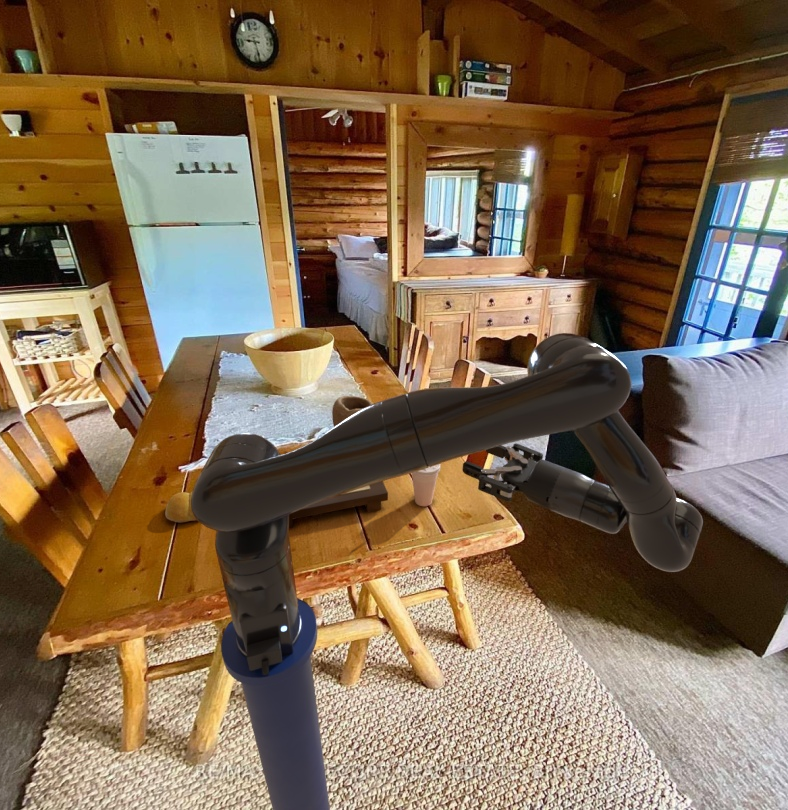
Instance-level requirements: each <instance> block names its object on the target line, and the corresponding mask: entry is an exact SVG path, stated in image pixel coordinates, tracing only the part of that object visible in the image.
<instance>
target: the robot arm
mask: <svg viewBox="0 0 788 810" xmlns="http://www.w3.org/2000/svg"><path fill="white" fill-rule="evenodd" d="M526 368H527V369H526V370H527V372H526V373H527V376H524V377H522V378H519V379H516V380H512V381H508V382H505V383H501V384H497V385H488V386H472V387H471V386H469V387H468V386H467V387H466V386H465V387H463V386H462V387H461V386H459V387H457V386H456V387H445V386H444V387H428V388H422V389H416V390H413V391H412V390H411V391H408V392H406V393H402V394H399V395H396V396H393V397H389V398H387V399H384V400H380V401H377V402H375V403H373V404H372V405H369V406H367V407H365V408H363V409H361V410H359V411H358V412H356V413H354V414H353V415H351V416H350V417H348V418H347V419H345V420H344V421H342V422H341V423H339V424H338V425H336V426H335V427H334V426H333V427H332V428H331V429H329V430H328V431H326V432H325V433H323V434H322V435H321V436H319V437H317V438H316V439H315V440H313V441H311V442H309V443H308V444H306V445H303V446H302V447H299V448H297V449H295V450H292V451H290V452H287V453H284V454H281V453H280V451H279V450H278V448H277V447H276V446H275V445H274V444H273V443H272V442H271V441H270V440H268V439H267V438H266V437H263V436H261V435H258V434H255V433H250V432H241V433H236V434H232V435H230V436H227V437H225V438H224V439H222V440H221V441H219V443H217V445H216V446H215V447H214V448H213V450H212V451H211V453H210V455H209V457H208V458H207V460H206V462H205V464H204V465H203V467H202V469H201V471H200V472H199V474H198V477H197V478H196V481H195V483H194V486H193V488H192V491H193V492H192V491H191V492H192V496H191V509H192V512H193V515H194V516H195V518H196V519H197V520H196V521H197V522H198V523H199V524H200V525H203V526H204V527H205V528H208V529H210V530H213V531H216V532H215V539H214V547H215V549H214V550H215V554H216V559H217V561H218V566H219V570H220V575H221V579H222V584H223V587H224V592H225V595H226V600H227V604H228V608H229V612H230V617H231V621H233V626H234V629H235V633H236V640H237V645H238V648H239V651H240V652H241V654H242V655H243V656H244V657H246V658H247V661H248V665H249V669H250V671H252V670H256V669H259V668H262V674H263V675H267V674H268V673H269V665H273V664H276V663H280V662H282V657H283V656H287V655H290V654H293V652H294V651H293V646H294V645H295V643H296V642H297V640H298V639H299V636H300V633H301V629H302V624H301V617H300V614H299V607H298V600H297V598H298V594H297V586H296V577H295V570H294V562H293V556H292V555H293V554H292V548H291V540H290V528H289V514H291V513H294V512H296V511H298V510H301V509H303V508H305V507H308V506H310V505H313V504H315V503H318V502H321V501H323V500H326V499H329V498H332V497H335V496H338V495H341V494H344V493H347V492H350V491H353V490H356V489H360V488H362V487H365V486H368V485H371V484H375V483H378V482H381V481H383V482H384V481H388V480H392V479H396V478H399V477H403V476H407V475H410V474H412V473H413V472H417V471H420V470H423V469H426V468H428V467H433V466H436V465H438V464H440V465H441V464H443V463H446V462H449V461H453V460H456V459H460V458H463V457H466V456H470V455H473V454H477V453H481V452H484V451H485V452H486V453H487V454H489V455H492V456H494V457H496V458H500V459H502V460H503V459H504V460H505V462H507V463H506V464H503V466H495V467H494V468H484V467H482V466H480V465H477V464H475V463H473V462H470V461H468V460H465V461H464V462H463V463H462V470H461V471H462V473H464V475H466V476H469V477H471V478H473V479H475V480H478V487H477V490H478V491H480V492H483V493H485V494H488V495H490V496H493V497H496V498H498V499H501V500H503V501H505V502H511V501H512V497H513V495H514V493H515V492H517V493H520V494H523V495H524V497H525V499H526V500H527V501H528V502H531V503H533V504H535V505H537V506H539V507H543V508H544V509H547V510H549V511H552V512H554V513H556V514H559V515H560V516H563V517H566V518H569V519H572V520H576V521H579V522H582V523H583V524H586V525H588V526H590V527H593V528H595V529H597V530H600V531H602V532H605V533H607V534H612V535H614V534H618V533H619V532H621V530H622V529H623V528H624V526H625V525H626V523H627V525H628V529H629V533H630V536H631V540H632V542H633V545H634V547H635V549H636V551H637V552H638V553H639V555H640V557H642V558H643V559H644V561H646V562H647V563H648V564H649V565H651V566H652V567H654V568H656V569H658V570H661V571H663V572H667V573H675V572H680V571H683V570H685V569H686V568H688V567H689V565H690V564H691V562H692V560H693V558H694V554H695V551H696V547H697V545H698V541H699V539H700V534H701V532H702V528H703V523H704V520H703V516H702V514H701V513H700V512H699V510H698V509H697V508H696V507H695V506H693V505H692V504H691V503H689V502H687V501H686V500H684V499H681V498H678V497H677V494H676V492H675V489H674V487H673V485H672V484H671V482H670V481H669V478H668V476H667V475H666V473H665V471H664V469H663V468H662V466H661V465H660V462H659V461H658V460H657V458H656V457H655V456H654V454H653V453H652V452H651V451H650V449H649V448H648V447H647V446H646V444H645V443H644V442H643V441H642V440H641V438H640V437H639V436H638V435H637V433H636V432H635V431H634V429H633V428H632V427H631V426H630V425H629V423H628V422H627V421H626V420H625V418H624V417H623V415H622V414H621V413H620V411H619V410H620V409H621V408H622V407H623V406H624V404H626V401H627V399H628V398H629V396H630V393H631V390H632V378H631V374H630V372H629V369H628V368H627V367H626V365H625V364H624V363H623V362H622V361H621V360H620V359H619V358H618V357H617V356H616V355H614V354H613V353H612V352H611V351H608V350H607V349H605V348H604V347H602V346H600V345H599V344H597V343H595V342H593V340H590V339H589V338H586V337H585V336H583V335H580V334H579V335H578V334H576V333H571V332H569V333H568V332H561V333H555V334H552V335H550V336H548V337H546V338H544V339H543V340H541V341H539V343H538V344H537V345H536V346H535V347H534V349H533V350H532V352H531V354H530V356H529V358H528V362H527V367H526ZM569 431H570V432H571V431H573V433H574V434H575V436H576V437H577V438H578V440H579V441H580V443H581V444H582V445H583V448H585V450H586V452H587V453H588V455H589V457H590V458H591V460H592V461H593V463H594V465H595V466H596V468H597V469H598V471H599V473H600V475H601V476H602V478H603V479H604V481H605V483H603V482H601V481H598V480H595V479H592V478H591V477H589V476H587V475H585V474H583V473H581V472H578V471H575V470H572V469H570V468H567V467H564V466H562V465H559V464H556V463H554V462H551V461H548V460H546V459H543V458H544V453H542V452H540V451H538V450H534V449H532V448H529V447H527V446H525V445H522V444H520V443H518V442H520V441H525V440H529V439H534V438H540V437H544V436H549V435H554V434H559V433H565V432H569ZM516 442H517V443H516ZM511 443H513V445H512V446H509V445H508V444H511ZM505 445H507V446H505ZM521 452H522V453H523V454H521ZM490 476H493V477H490ZM500 478H501V480H500ZM487 485H489V486H487Z"/></svg>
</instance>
